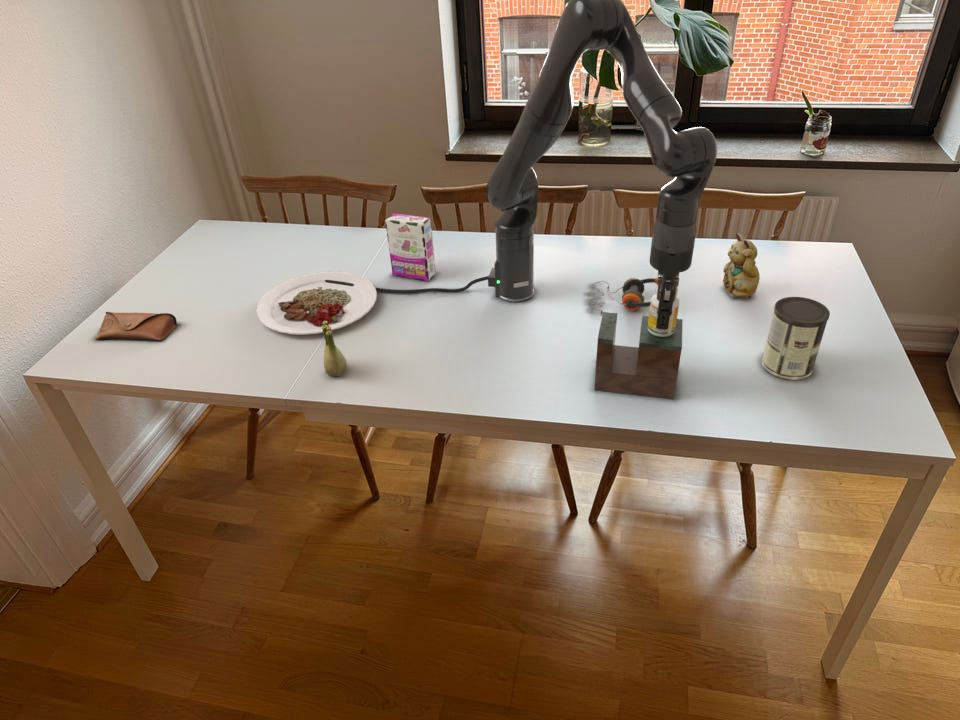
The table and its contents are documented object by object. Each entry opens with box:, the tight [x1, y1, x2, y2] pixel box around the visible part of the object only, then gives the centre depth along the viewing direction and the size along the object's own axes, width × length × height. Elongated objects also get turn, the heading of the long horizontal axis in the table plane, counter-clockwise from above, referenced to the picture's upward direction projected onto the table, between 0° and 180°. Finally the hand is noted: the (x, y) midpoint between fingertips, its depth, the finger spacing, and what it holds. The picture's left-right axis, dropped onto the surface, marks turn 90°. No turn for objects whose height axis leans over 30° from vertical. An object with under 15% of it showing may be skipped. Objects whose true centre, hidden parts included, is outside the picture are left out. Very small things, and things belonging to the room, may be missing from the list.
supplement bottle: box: [648, 284, 680, 337], centre depth 133 cm, size 5×5×10 cm
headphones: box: [587, 277, 657, 317], centre depth 168 cm, size 17×5×20 cm
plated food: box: [256, 271, 378, 336], centre depth 173 cm, size 30×30×3 cm
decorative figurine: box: [722, 232, 761, 299], centre depth 167 cm, size 10×8×15 cm
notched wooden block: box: [593, 311, 683, 400], centre depth 140 cm, size 16×10×13 cm, turn 76°
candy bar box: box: [384, 213, 437, 282], centre depth 181 cm, size 11×5×16 cm, turn 68°
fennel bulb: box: [322, 321, 348, 377], centre depth 148 cm, size 6×5×12 cm
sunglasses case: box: [94, 311, 178, 341], centre depth 168 cm, size 18×7×7 cm
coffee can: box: [761, 296, 831, 381], centre depth 142 cm, size 10×10×14 cm
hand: (662, 319), depth 134 cm, fingers closed on supplement bottle, 5 cm apart
